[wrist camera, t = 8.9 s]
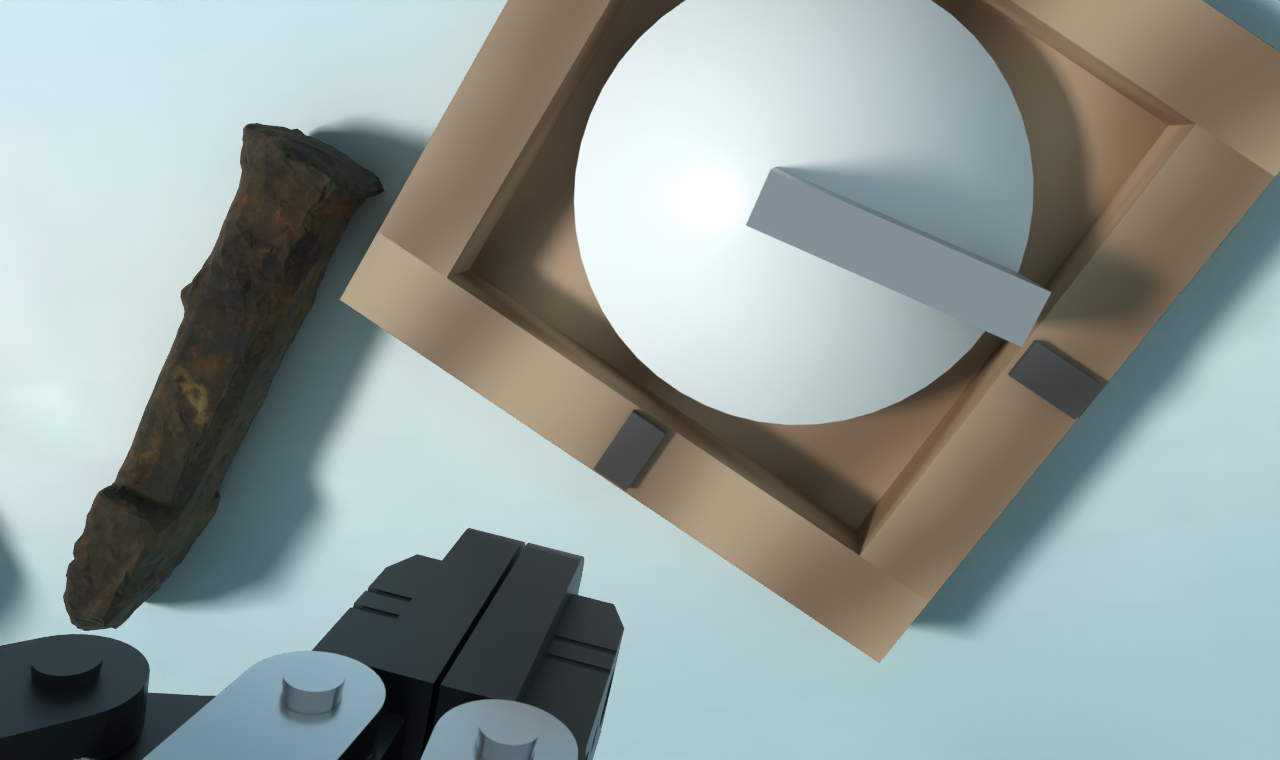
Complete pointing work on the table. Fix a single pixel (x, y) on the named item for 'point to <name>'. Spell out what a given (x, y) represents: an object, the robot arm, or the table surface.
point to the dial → (806, 204)
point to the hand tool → (216, 368)
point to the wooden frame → (893, 436)
